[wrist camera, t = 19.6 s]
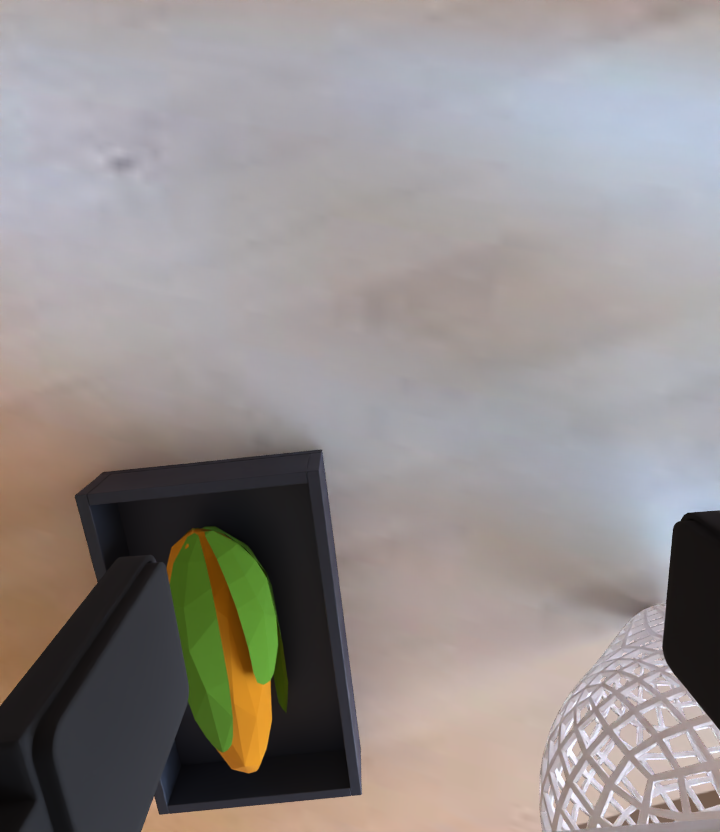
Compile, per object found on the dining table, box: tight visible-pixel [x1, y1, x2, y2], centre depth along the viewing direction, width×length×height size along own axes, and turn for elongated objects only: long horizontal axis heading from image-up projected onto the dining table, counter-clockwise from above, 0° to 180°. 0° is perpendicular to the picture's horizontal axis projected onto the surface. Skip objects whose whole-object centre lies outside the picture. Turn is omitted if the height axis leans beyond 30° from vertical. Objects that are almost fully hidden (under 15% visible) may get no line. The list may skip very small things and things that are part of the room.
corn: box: [166, 526, 288, 773], centre depth 37 cm, size 7×8×20 cm
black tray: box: [75, 450, 362, 814], centre depth 39 cm, size 16×27×4 cm, turn 6°
